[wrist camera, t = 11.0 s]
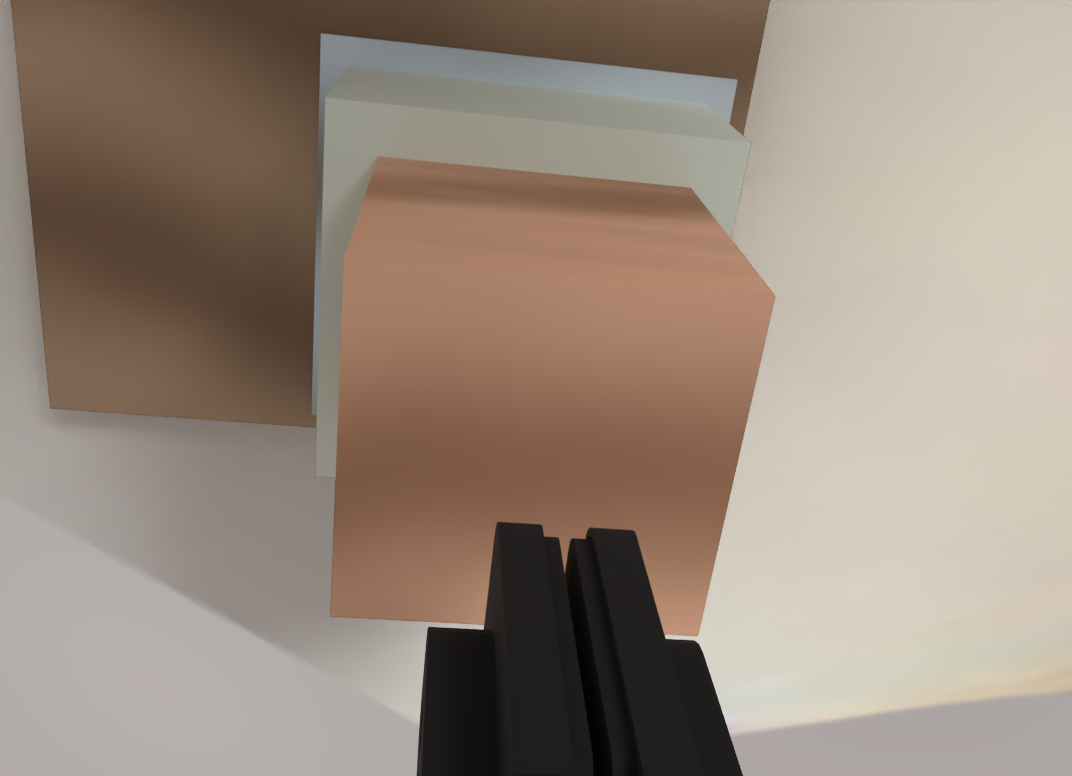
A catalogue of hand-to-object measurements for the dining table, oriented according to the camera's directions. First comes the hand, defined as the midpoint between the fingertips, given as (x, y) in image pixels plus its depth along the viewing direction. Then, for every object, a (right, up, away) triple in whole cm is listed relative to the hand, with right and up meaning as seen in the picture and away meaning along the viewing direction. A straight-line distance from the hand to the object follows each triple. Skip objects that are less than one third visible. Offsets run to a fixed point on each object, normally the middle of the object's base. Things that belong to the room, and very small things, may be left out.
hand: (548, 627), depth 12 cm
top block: (-1, +4, +8) cm, 9 cm away
